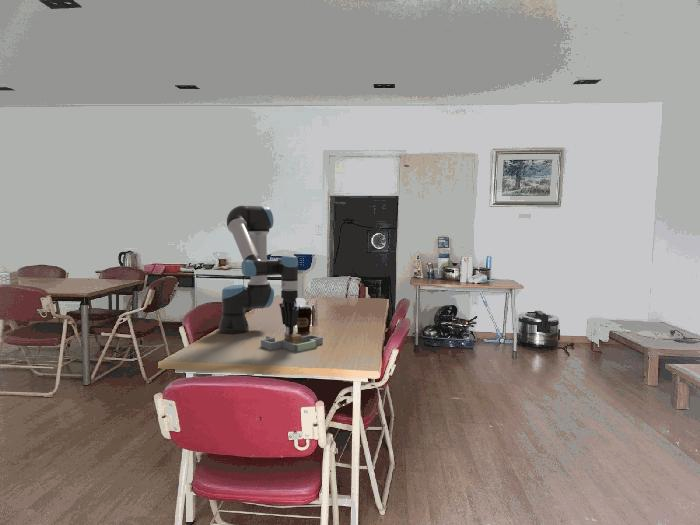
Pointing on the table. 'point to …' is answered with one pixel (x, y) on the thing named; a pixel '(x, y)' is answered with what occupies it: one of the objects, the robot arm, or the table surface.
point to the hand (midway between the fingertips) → (289, 340)
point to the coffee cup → (304, 320)
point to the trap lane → (307, 343)
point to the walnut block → (294, 338)
